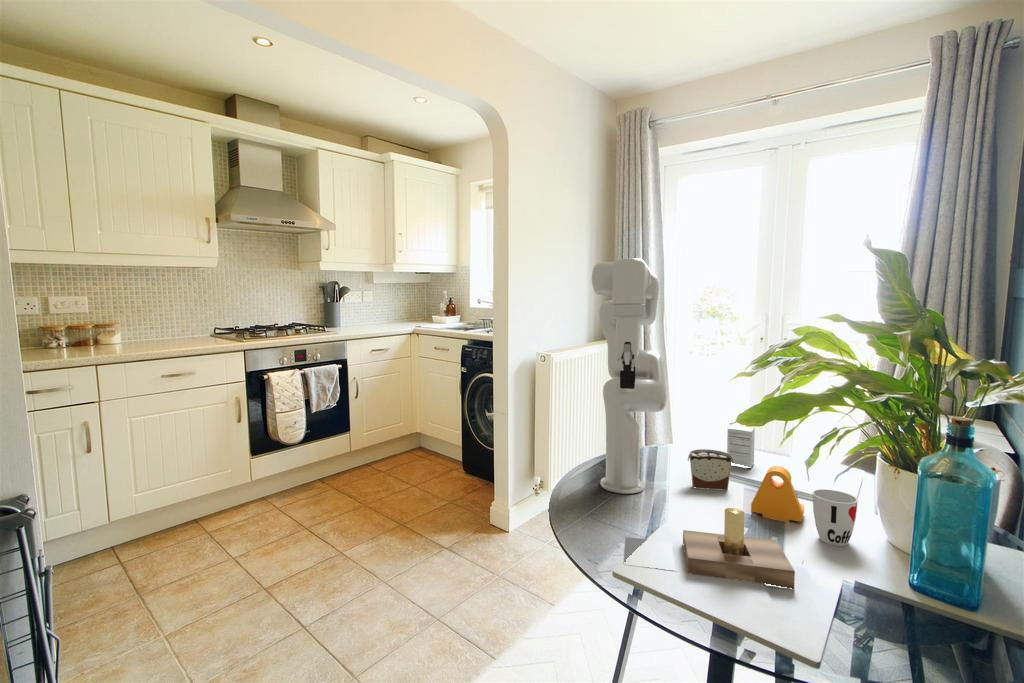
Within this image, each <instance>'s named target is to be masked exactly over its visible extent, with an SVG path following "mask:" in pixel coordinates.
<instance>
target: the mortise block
mask: <svg viewBox="0 0 1024 683" xmlns="http://www.w3.org/2000/svg"><path fill="white" fill-rule="evenodd" d="M683 544H684V547H683V551H684V550H685V553H684V557H685V556H686V558H685V563H686V562H687V564H686V569H687V568H688V570H687V573H688V574H689V573H692V575H697V576H705V577H711V576H714V577H713V578H719V577H721V578H720V579H727V578H729V580H734V579H737V580H736V581H742V580H745V581H744V582H749V581H751V582H750V583H759V584H764V583H766V584H771V585H776V586H781V587H787V588H792V589H794V590H795V580H796V578H795V574H796V571H795V569H794V567H793V565H792V564H791V562H790V561H789V559H788V557H787V556H786V554H785V552H784V551H783V549H782V548H781V545H780V544H779V542H778V541H777V539H770V538H769V539H768V538H760V537H759V538H758V537H751V536H750V537H749V536H744V556H741V555H733V554H724V534H722V533H711V532H704V531H703V532H702V531H694V530H687V529H685V530H684V529H682V545H683Z"/></svg>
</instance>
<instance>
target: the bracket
mask: <svg viewBox="0 0 1024 683" xmlns="http://www.w3.org/2000/svg"><path fill="white" fill-rule="evenodd" d="M773 477H779V478H780V479H781V480H782V481H783V482H777V481H775V480H774V479H773ZM750 512H754V513H757V514H761V515H762V518H766V519H770V520H771V519H772V520H775V521H779V522H785V523H790V521H796V522H799V523H802V522H803V517H804V513H805V505H804V504H803V503H800V501H799V498H798V496H797V494H796V491H795V488H794V486H793V484H792V475H791V473H790V472H789V471H788V469H786V468H785V467H783V466H779V465H774V466H773V465H772V466H771V467H769V468H768V470H767V471H766V474H765V475H764V477H763V479H762V481H761V483H760V485H759V487H758V489H757V491H756V493H755V495H754V497H753V499H752V502H751V503H750Z"/></svg>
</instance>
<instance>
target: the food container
mask: <svg viewBox="0 0 1024 683" xmlns="http://www.w3.org/2000/svg"><path fill="white" fill-rule="evenodd" d="M687 461H688V462H690V472H691V473H690V474H691V482H692V483H691V484H692V488H693V487H696V488H709V489H708V490H713V489H722V490H721V491H729V490H728V489H729V484H730V483H729V482H730V475H731V470H732V466H731V462H733V463H734V461H733V458H732V455H730V454H728V453H727V452H726V451H723V450H717V449H716V450H715V449H707V448H706V449H705V448H704V449H703V448H702V449H700V448H699V449H693V450H691V451H690V452H689V453H688V457H687Z"/></svg>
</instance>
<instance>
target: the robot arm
mask: <svg viewBox="0 0 1024 683" xmlns="http://www.w3.org/2000/svg"><path fill="white" fill-rule="evenodd" d="M592 268H593V269H592V272H591V284H592V288H593V291H594V293H595V294H597V295H598V296H599V295H601V296H608V297H611V299H610V300H606V301H604V302H602V303H601V305H600V307H599V310H598V311H599V312H598V316H599V324H600V328H601V331H602V332H601V333H602V334H603V336H604V339H605V341H606V343H607V344H606V345H607V370H608V374H609V376H610V378H611V379H608V380H607V381H606V382H605V383H604V385H603V389H602V395H603V396H602V397H603V403H604V410H605V412H604V413H605V476H604V477H602V478H601V479H600V486H601V488H602V489H604V490H606V491H609V492H613V493H617V494H627V495H629V494H631V495H632V494H637V493H641V492H643V491H644V490H645V489H646V484H645V482H644V481H643V480H642V479H640V460H641V457H640V453H641V452H640V447H641V444H640V442H641V440H640V438H641V431H640V430H641V429H640V425H639V422H638V421H637V420H636V419H635V417H634V416H633V415H632V414H631V413H635V412H636V413H641V412H642V413H658V412H662V411H663V410H664V409H665V407H666V404H667V389H666V388H667V387H666V379H665V373H664V372H665V371H664V363H663V358H662V356H661V355H660V353H659V352H657V351H655V350H651V349H639V348H640V330H641V329H640V327H642V326H643V327H646V326H650V325H653V323H654V322H655V320H656V317H657V308H658V298H659V290H660V289H659V285H660V284H659V279H658V276H657V275H656V274H655V273H654V272H653V271H651V269H650V267H649V266H648V265H647V263H646V262H645V260H643V259H642V258H639V257H638V258H637V257H635V258H634V257H633V258H632V257H628V258H627V257H626V258H619V259H618V258H617V259H615V261H607V262H605V261H604V262H598V263H596V264H595V265H594V266H593V267H592Z"/></svg>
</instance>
